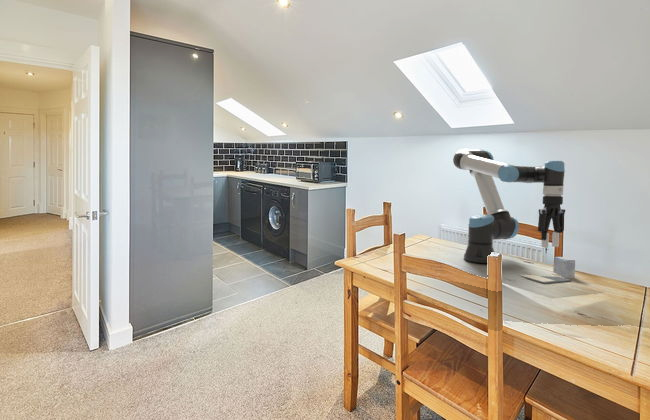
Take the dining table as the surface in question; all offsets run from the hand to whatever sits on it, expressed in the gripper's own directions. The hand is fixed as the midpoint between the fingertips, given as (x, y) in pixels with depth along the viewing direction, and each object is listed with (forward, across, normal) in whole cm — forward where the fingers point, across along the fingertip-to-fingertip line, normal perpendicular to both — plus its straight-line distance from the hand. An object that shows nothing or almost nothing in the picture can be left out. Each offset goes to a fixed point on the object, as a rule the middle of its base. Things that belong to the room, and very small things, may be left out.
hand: (550, 246), depth 154 cm
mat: (+14, -3, 0) cm, 15 cm away
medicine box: (+15, +10, 0) cm, 17 cm away
